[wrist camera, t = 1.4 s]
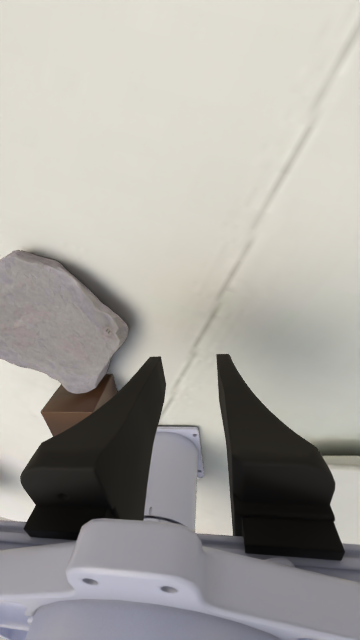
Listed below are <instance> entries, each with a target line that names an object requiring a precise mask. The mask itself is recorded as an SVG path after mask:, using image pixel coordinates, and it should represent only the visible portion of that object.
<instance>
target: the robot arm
mask: <svg viewBox="0 0 360 640" xmlns="http://www.w3.org/2000/svg"><path fill="white" fill-rule="evenodd" d="M217 370H218V388H219V402H220V408H221V414H222V420H223V426H224V432H225V438H226V446H227V458H228V471H229V485H230V498H231V512H232V526H233V536H226V535H211V534H197V533H195V519H196V489H197V478H202V477H203V476H204V470H203V462H202V453H201V445H200V436H199V429H198V428H197V427H158V423H159V419H160V415H161V411H162V407H163V403H164V397H165V389H166V382H165V377H164V371H163V366H162V361H161V357H150V358H149V359H148V360H147V361H146V362H145V363H144V365H143V366H142V367H141V368H140V369H139V370H138V372H137V373H136V374H135V375H134V376H133V377H132V378H131V379H130V381H129V382H128V383H127V384H126V385H125V386H124V387H123V388H122V389H121V390H120V391H119V392H118V393H117V394H116V395H114V396H113V397H112V398H111V399H110V400H109V401H107V402H106V403H105V404H104V405H103V406H101V407H100V408H99V409H97V410H96V411H94V412H93V413H92V414H90V415H89V416H88V417H86V418H85V419H83V420H82V421H80V422H78V423H77V424H75V425H74V426H72V427H70V428H69V429H67V430H65V431H63V432H62V433H60V434H58V435H56V436H54V437H52V438H50V439H48V440H47V441H45V442H42V443H41V445H40V446H39V448H38V449H37V451H36V452H35V454H34V455H33V457H32V458H31V460H30V461H29V463H28V464H27V466H26V467H25V469H24V470H23V472H22V474H21V476H20V479H21V484H22V486H23V488H24V489H25V491H26V492H27V493H28V495H29V496H30V497H31V499H32V500H33V502H34V503H35V504H36V506H35V508H34V510H33V512H32V514H31V515H30V517H29V519H28V521H27V522H18V521H3V520H0V638H2V639H6V640H360V544H345V543H342V542H341V540H340V537H339V535H338V532H337V529H336V527H335V524H334V522H335V516H334V514H333V511H332V508H331V506H330V503H331V500H332V497H333V494H334V491H335V484H336V483H335V480H334V478H333V475H332V473H331V471H330V469H329V467H328V465H327V464H326V462H325V460H324V459H323V457H322V455H321V454H320V452H319V451H318V449H317V448H316V447H315V446H314V445H312V444H311V443H309V442H308V441H306V440H305V439H303V438H302V437H301V436H299V435H298V434H296V433H295V432H294V431H292V430H291V429H290V428H289V427H287V426H286V425H285V424H284V423H283V422H282V421H280V420H279V419H278V418H277V417H276V416H275V415H274V414H273V413H271V412H270V411H269V410H268V409H267V408H266V407H265V405H264V404H263V403H262V402H261V401H260V400H259V399H258V398H257V397H256V396H255V394H254V393H253V392H252V391H251V389H250V388H249V387H248V386H247V384H246V383H245V381H244V380H243V378H242V377H241V375H240V374H239V372H238V371H237V369H236V367H235V365H234V364H233V362H232V359H231V357H230V355H229V354H217Z"/></svg>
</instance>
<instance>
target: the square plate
mask: <svg viewBox="0 0 360 640" xmlns="http://www.w3.org/2000/svg"><path fill="white" fill-rule="evenodd" d="M322 457H323V459H324V460H325V462H326V464H327V465H328V467H329V469H330V471H331V473H332V475H333V478H334V480H335V483H336V484H335V491H334V494H333V497H332V500H331V503H330V506H331V508H332V511H333V514H334V516H335V522H334V524H335V527H336V529H337V532H338V535H339V537H340V540H341V542H342V543H345V544H360V456H322Z"/></svg>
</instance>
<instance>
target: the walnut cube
mask: <svg viewBox="0 0 360 640" xmlns="http://www.w3.org/2000/svg"><path fill="white" fill-rule="evenodd" d="M117 393H118V392H117V389H116V385H115V382H114V379H113V375H112V374H105V376H104V377H103V378H102V380H101V381H100V382H99V384H98V386H97V387H96V388H95V389H93V390H91V391H89V392H86V393H79V394H75V393H72V392H69V391H67V390H66V389H65V388H64V387H63V386H62V384H61V385H60V387H59V388H58V389H57V391H56V392H55V393H54V395H53V396H52V397H51V399H50V400H49V401H48V403H47V404H46V405H45V407H44V408H43V409H42V410H41V414H42V415H43V417H44V419H45V421H46V423H47V425H48V427H49V429H50V431H51V433H52V435H53V437H54V436H56V435H58V434H60V433H62V432H63V431H65V430H67V429H69V428H70V427H72V426H74V425H75V424H77V423H78V422H80V421H82V420H83V419H85V418H86V417H88V416H89V415H90V414H92V413H93V412H94V411H96V410H97V409H99V408H100V407H101V406H103V405H104V404H105V403H106V402H107V401H109V400H110V399H111V398H112V397H113V396H114V395H116V394H117Z"/></svg>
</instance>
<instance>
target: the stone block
mask: <svg viewBox="0 0 360 640" xmlns="http://www.w3.org/2000/svg"><path fill="white" fill-rule="evenodd" d="M128 331H129V328H128V326H127V324H126V323H125V322H124V321H123V320H122V319H121V318H120V317H119V315H117V314H115V313H114V312H113V311H112V310H111V309H110V308H109V307H107V306H105V305H104V304H103V303H102V302H100V301H99V300H98V298H97V297H96V296H95V295H94V294H93V293H92V292H91V291H90V290H89V289H88V288H87V287H86V286H85V285H83V284H82V283H81V282H80V281H79V280H78V279H77V278H76V277H75V276H73V275H72V274H71V273H69V272H68V271H67V270H66V269H65V267H64V266H63V265H62V264H61V263H60V262H58V261H56V260H53V259H47V258H44V257H41V256H37V255H33V254H30V253H27V252H25V251H20V250H17V251H13V252H12V253H10V254H9V255H7V256H6V257H4V258H2V259H1V260H0V359H3V360H6V361H8V362H9V363H12V364H15V365H17V366H20V367H24V368H30V369H34V370H38V371H40V372H43V373H45V374H47V375H49V376H50V377H51V378H53V379H55V380H58V381H59V382H60V383H61V384H62V386H63V387H64V388H65V389H66V390H67V391H69V392H72V393H75V394H79V393H86V392H89V391H91V390H93V389H95V388H96V387H97V386H98V384H99V382H100V381H101V380H102V378H103V377H104V376H105V374H106V373H107V370H108V367H109V363H110V360H111V357H112V355H113V354H114V353H115V352H116V351H117V350H118V349H119V348H120V346H121V345H122V344H123V343H124V341H125V340H126V338H127V336H128Z"/></svg>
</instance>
